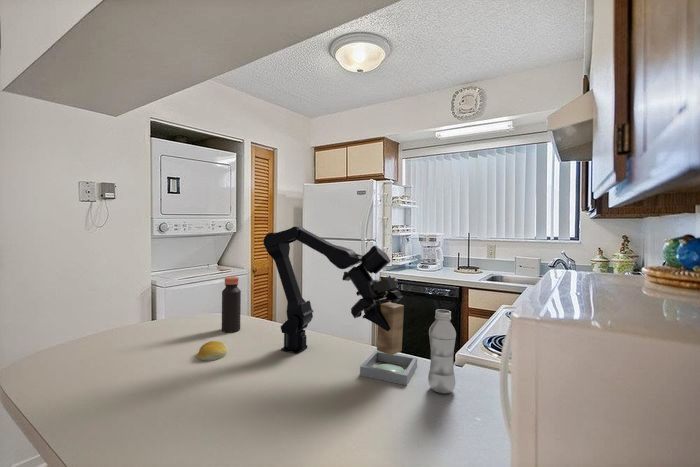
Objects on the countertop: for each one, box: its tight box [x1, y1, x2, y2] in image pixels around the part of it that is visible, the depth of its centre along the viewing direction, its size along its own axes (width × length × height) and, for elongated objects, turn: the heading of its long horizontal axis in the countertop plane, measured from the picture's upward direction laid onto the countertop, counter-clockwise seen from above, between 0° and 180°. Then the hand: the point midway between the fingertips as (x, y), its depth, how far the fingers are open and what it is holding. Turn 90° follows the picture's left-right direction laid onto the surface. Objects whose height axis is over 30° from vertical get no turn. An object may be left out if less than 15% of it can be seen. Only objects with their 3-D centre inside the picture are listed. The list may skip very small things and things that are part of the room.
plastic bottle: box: [427, 309, 457, 394], centre depth 85 cm, size 6×7×20 cm
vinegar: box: [221, 276, 242, 334], centre depth 128 cm, size 7×7×20 cm
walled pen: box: [359, 350, 418, 386], centre depth 96 cm, size 13×13×2 cm
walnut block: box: [376, 302, 405, 355], centre depth 95 cm, size 5×5×13 cm
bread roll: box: [197, 340, 228, 362], centre depth 104 cm, size 8×9×4 cm
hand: (394, 328), depth 94 cm, fingers closed on walnut block, 5 cm apart
